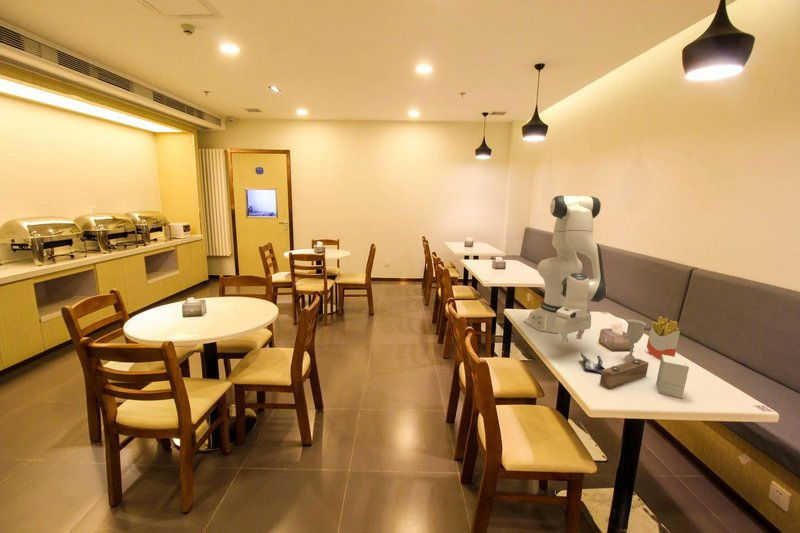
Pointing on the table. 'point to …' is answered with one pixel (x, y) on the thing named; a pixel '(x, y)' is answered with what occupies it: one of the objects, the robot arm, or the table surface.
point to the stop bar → (623, 373)
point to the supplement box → (672, 376)
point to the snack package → (597, 367)
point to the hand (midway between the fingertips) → (571, 340)
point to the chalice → (634, 336)
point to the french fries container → (663, 338)
